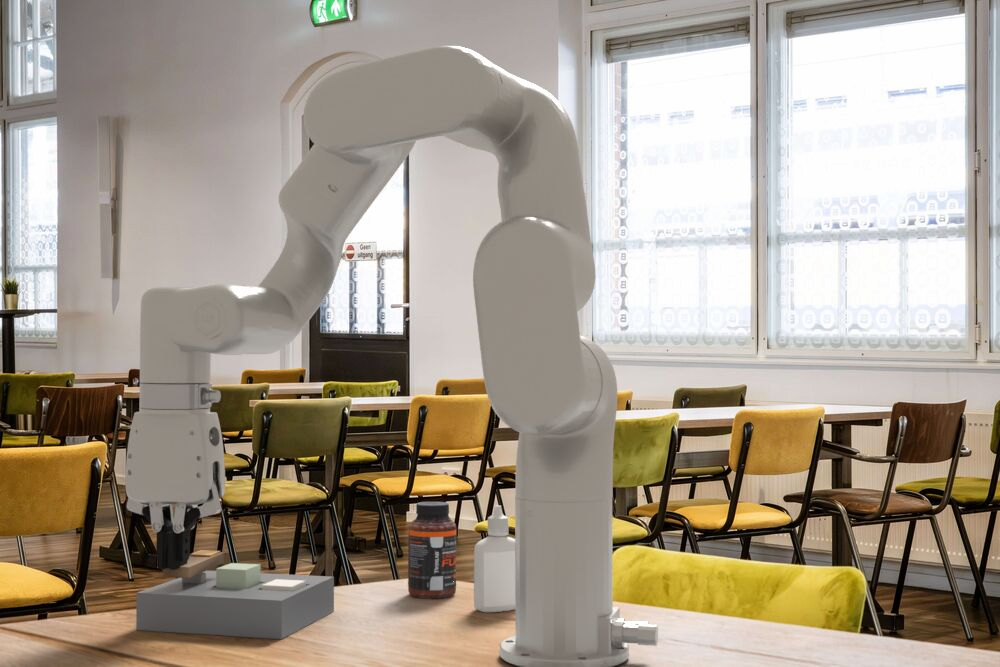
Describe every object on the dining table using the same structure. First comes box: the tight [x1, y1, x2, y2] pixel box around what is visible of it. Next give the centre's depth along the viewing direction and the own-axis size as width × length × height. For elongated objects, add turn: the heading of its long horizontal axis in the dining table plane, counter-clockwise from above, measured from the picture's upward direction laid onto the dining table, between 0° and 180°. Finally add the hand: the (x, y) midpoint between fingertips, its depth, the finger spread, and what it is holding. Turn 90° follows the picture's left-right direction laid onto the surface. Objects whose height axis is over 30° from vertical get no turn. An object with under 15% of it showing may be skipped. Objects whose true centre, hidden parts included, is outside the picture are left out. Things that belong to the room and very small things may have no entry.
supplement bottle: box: [407, 501, 457, 600], centre depth 150 cm, size 6×6×11 cm
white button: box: [262, 579, 306, 592], centre depth 134 cm, size 4×4×3 cm
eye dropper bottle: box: [473, 504, 515, 613], centre depth 141 cm, size 4×6×12 cm
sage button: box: [215, 562, 262, 589], centre depth 136 cm, size 4×4×3 cm
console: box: [135, 570, 335, 640], centre depth 136 cm, size 17×14×5 cm
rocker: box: [162, 549, 225, 579], centre depth 137 cm, size 3×8×1 cm, turn 165°
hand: (172, 566), depth 133 cm, fingers closed
